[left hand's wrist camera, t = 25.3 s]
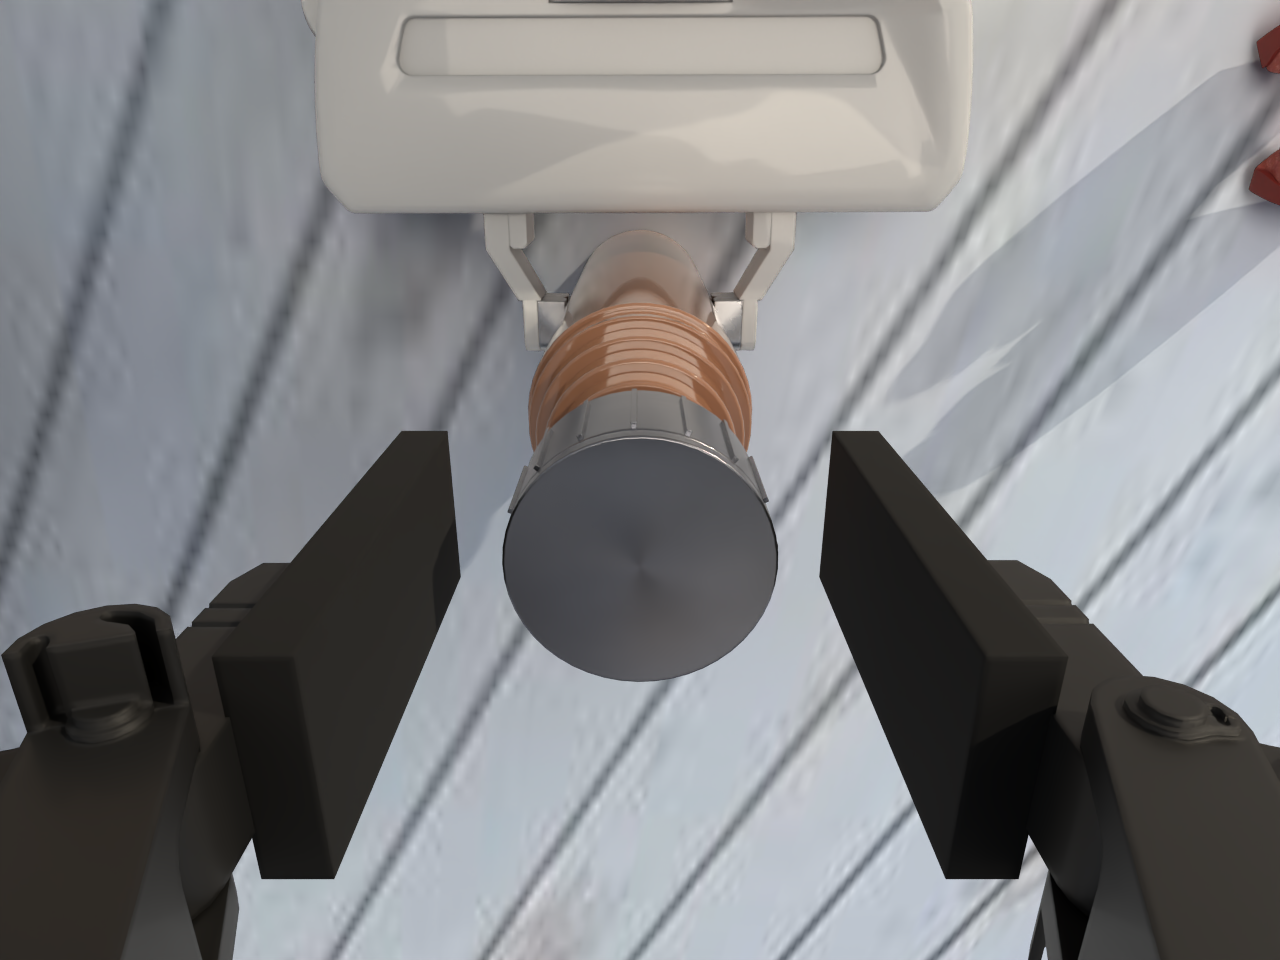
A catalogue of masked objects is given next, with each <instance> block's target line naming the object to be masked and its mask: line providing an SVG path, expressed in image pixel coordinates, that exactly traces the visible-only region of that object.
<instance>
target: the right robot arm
mask: <svg viewBox="0 0 1280 960" xmlns="http://www.w3.org/2000/svg"><path fill="white" fill-rule="evenodd" d="M301 3H302V8H303V12H304V15H305V18H306V21H307V24H308V26H309V27H310V29H311V31H312V33H313V34H314V36H315V116H316V135H317V147H318V159H319V167H320V173H321V178H322V180H323V182H324V184H325V186H326V187H327V188H328V189H329V190H330V192H331V193H332V194H333V195H334V196H335V197H336V198H337V199H338V201H339V202H340V203H341V204H342V205H343V206H344V207H345V208H346V209H347V210H348V211H350V212H352V213H483V217H484V231H485V246H486V251H487V252H488V254H489V256H490V257H491V259H492V260H493V262H494V263H495V265H496V266H497V268H498V270H499V271H500V273H501V274H502V276H503V277H504V279H505V280H506V282H507V284H508V285H509V287H510V288H511V290H512V291H513V293H514V294H515V296H516V297H517V299H518V301H522V303H523V320H524V338H525V347H526V350H527V351H545V350H546V348H547V345H548V343H549V341H550V339H551V337H552V335H553V333H554V331H555V328H556V326H557V324H558V322H559V320H560V318H561V316H562V314H563V311H564V309H565V307H566V305H567V303H568V301H569V293H546V292H547V291H546V290H545V288H544V286H543V285H542V283H541V281H540V280H539V278H538V276H537V274H536V273H535V271H534V269H533V268H532V266H531V264H530V263H529V261H528V259H527V258H526V256H525V254H524V252H523V251H522V249H525V248H526V247H527V246H528V245H529V244H530V243H531V242H532V241H534V240H535V231H534V213H683V212H746V226H745V239H746V240H747V241H748V242H749V243H750V244H751V245H753V246H754V247H755V248H758V250H757V252H756V253H755V255H754V257H753V258H752V260H751V262H750V263H749V265H748V267H747V269H746V270H745V272H744V274H743V275H742V277H741V279H740V280H739V282H738V284H737V285H736V287H735V289H734V292H729V293H711V300H712V303H713V305H714V307H715V309H716V311H717V313H718V315H719V317H720V320H721V322H722V324H723V326H724V328H725V330H726V332H727V334H728V337H729V339H730V341H731V343H732V345H733V347H734V349H735V350H754V348H755V342H756V326H757V306H758V300H762V299H763V297H764V295H765V294H766V292H767V291H768V289H769V288H770V286H771V285H772V283H773V281H774V280H775V278H776V277H777V275H778V274H779V272H780V270H781V269H782V267H783V266H784V264H785V263H786V261H787V259H788V258H789V256H790V255H791V253H792V252H793V250H794V242H795V228H796V213H797V212H928V211H932V210H934V209H935V208H936V207H937V206H938V205H940V203H941V202H942V201H943V200H944V199H945V198H946V197H947V196H948V194H949V193H950V192H951V191H952V189H953V188H954V187H955V186H956V184H957V183H958V182H959V180H960V178H961V176H962V173H963V169H964V164H965V158H966V152H967V144H968V135H969V124H970V112H971V97H972V74H973V14H972V3H971V0H301Z"/></svg>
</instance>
